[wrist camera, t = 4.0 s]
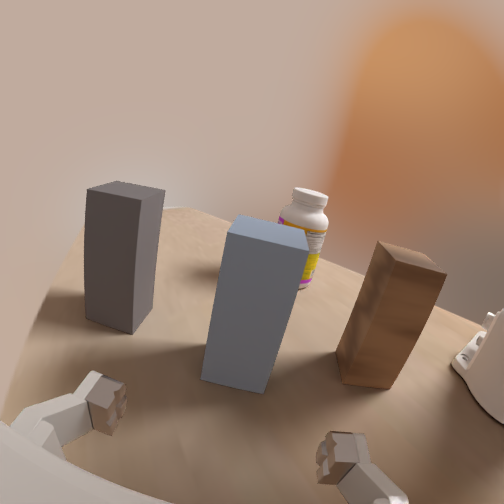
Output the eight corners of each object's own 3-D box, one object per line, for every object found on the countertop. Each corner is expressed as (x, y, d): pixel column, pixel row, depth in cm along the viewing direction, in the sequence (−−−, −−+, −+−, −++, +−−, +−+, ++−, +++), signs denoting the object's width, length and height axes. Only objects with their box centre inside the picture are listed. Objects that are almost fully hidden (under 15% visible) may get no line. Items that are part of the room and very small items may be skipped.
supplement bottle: (256, 269, 46) (277, 182, 42) (294, 269, 49) (315, 189, 45) (279, 291, 40) (305, 194, 36) (318, 290, 43) (345, 201, 39)
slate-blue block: (212, 343, 27) (238, 214, 23) (267, 356, 27) (304, 229, 23) (200, 379, 23) (227, 231, 19) (263, 394, 23) (309, 251, 19)
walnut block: (335, 351, 30) (377, 240, 26) (378, 358, 30) (423, 253, 26) (342, 383, 25) (396, 260, 21) (389, 389, 25) (447, 274, 21)
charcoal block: (109, 295, 30) (116, 180, 26) (152, 308, 30) (165, 190, 26) (86, 318, 26) (87, 188, 22) (132, 334, 26) (141, 200, 22)
